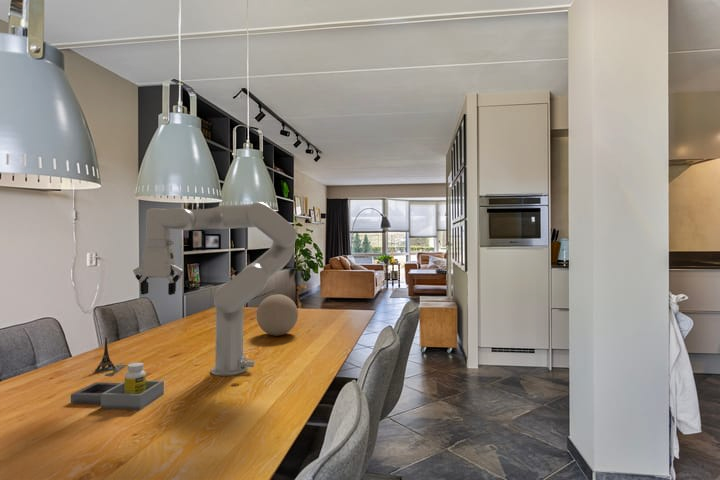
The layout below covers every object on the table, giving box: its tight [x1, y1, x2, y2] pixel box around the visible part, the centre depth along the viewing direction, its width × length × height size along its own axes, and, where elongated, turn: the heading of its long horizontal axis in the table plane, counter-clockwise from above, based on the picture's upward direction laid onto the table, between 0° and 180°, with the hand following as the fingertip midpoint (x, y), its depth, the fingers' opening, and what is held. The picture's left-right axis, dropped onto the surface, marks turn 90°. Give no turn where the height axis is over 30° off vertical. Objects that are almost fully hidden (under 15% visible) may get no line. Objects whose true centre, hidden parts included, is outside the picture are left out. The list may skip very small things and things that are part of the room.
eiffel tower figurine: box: [94, 336, 128, 377], centre depth 148 cm, size 15×10×13 cm
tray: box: [100, 379, 165, 411], centre depth 119 cm, size 12×12×4 cm
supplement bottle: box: [124, 362, 147, 394], centre depth 119 cm, size 5×5×10 cm
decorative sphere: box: [256, 293, 299, 337], centre depth 201 cm, size 20×20×20 cm
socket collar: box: [70, 381, 122, 405], centre depth 122 cm, size 10×10×2 cm
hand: (158, 294), depth 140 cm, fingers open, 9 cm apart
